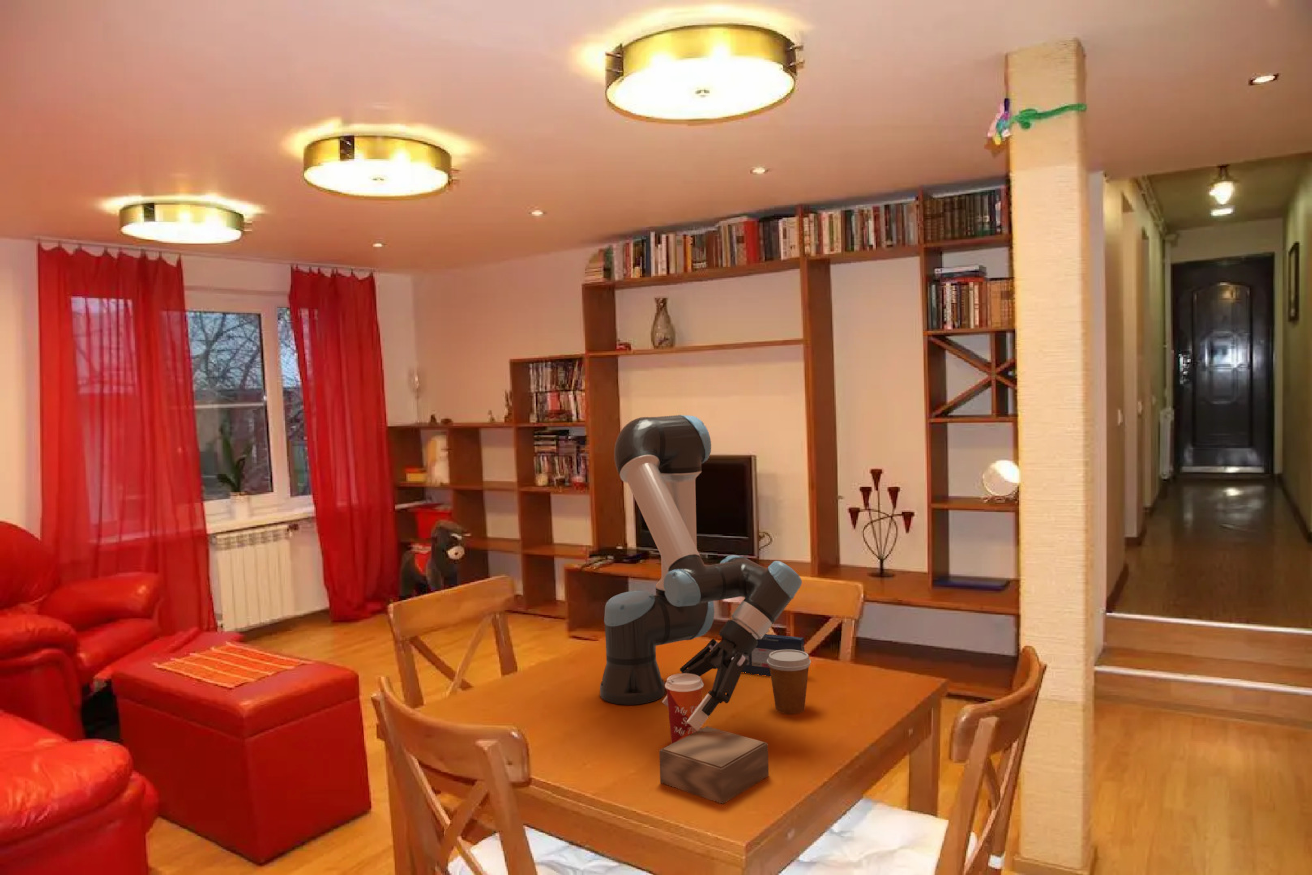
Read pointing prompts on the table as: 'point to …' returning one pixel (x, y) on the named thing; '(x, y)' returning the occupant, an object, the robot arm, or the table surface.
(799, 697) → the disposable coffee cup
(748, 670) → the vhs cassette tape
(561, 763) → the table surface
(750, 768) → the walnut box
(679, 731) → the paper cup
